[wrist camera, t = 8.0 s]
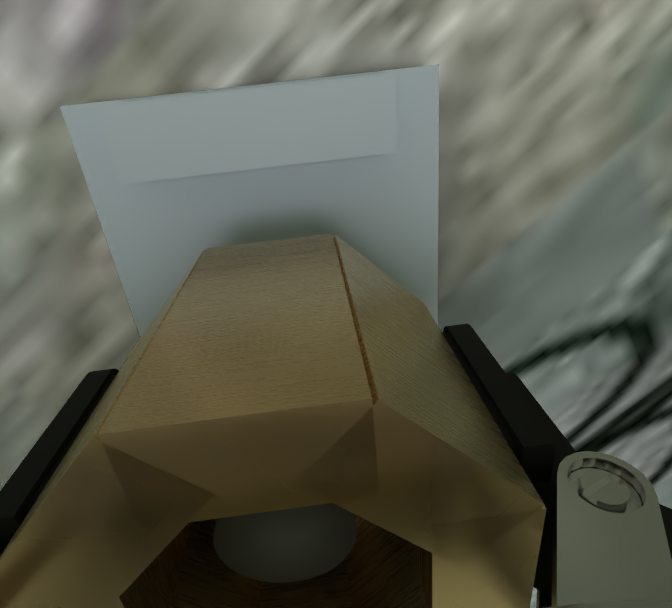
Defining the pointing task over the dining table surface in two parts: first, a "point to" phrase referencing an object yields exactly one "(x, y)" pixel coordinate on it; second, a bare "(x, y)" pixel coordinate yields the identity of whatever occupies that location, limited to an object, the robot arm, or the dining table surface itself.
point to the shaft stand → (268, 219)
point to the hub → (283, 450)
